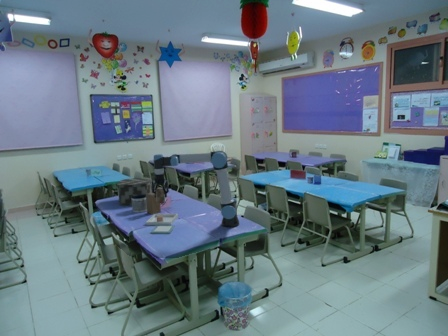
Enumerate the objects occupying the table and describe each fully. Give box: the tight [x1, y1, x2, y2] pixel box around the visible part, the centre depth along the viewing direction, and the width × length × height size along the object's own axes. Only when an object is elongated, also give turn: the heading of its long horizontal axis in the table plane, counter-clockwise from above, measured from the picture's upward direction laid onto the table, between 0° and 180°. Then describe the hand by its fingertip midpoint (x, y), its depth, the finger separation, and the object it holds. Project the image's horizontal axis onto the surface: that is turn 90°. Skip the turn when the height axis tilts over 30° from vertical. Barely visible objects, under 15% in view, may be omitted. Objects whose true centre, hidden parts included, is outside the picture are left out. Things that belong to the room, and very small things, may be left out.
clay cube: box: [157, 216, 164, 222], centre depth 286 cm, size 5×5×6 cm
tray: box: [145, 213, 179, 226], centre depth 293 cm, size 22×24×4 cm
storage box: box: [116, 177, 153, 207], centre depth 365 cm, size 35×35×23 cm
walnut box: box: [156, 186, 167, 205], centre depth 266 cm, size 6×6×12 cm
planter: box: [131, 195, 147, 214], centre depth 329 cm, size 16×16×14 cm
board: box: [150, 225, 176, 235], centre depth 271 cm, size 16×16×1 cm
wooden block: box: [146, 193, 162, 215], centre depth 318 cm, size 10×10×20 cm
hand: (161, 201), depth 267 cm, fingers closed on walnut box, 6 cm apart
